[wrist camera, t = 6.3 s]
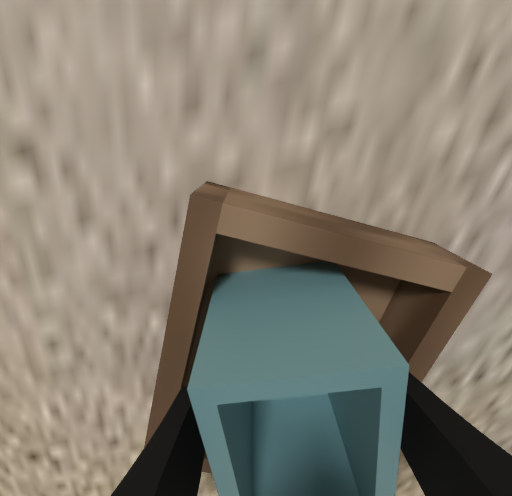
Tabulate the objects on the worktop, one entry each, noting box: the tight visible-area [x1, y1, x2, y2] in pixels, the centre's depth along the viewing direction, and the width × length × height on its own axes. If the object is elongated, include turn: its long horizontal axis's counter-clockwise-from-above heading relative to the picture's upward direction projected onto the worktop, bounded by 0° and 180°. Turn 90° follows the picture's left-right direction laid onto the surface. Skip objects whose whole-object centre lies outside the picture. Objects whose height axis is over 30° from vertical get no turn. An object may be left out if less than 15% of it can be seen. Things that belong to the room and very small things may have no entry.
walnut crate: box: [144, 181, 492, 473], centre depth 12 cm, size 10×13×3 cm
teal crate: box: [187, 261, 409, 496], centre depth 10 cm, size 5×8×6 cm, turn 7°
